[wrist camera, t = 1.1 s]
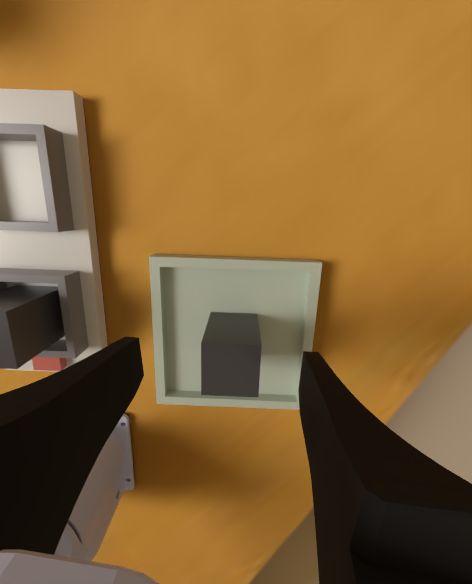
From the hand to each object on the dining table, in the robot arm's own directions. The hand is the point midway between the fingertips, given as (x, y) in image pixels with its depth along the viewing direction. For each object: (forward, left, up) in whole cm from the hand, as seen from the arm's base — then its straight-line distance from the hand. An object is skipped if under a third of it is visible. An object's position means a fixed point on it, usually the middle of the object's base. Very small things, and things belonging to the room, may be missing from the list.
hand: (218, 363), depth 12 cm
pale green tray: (-4, 0, -12) cm, 13 cm away
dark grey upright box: (-4, 0, -12) cm, 13 cm away
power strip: (+3, +16, -12) cm, 20 cm away
